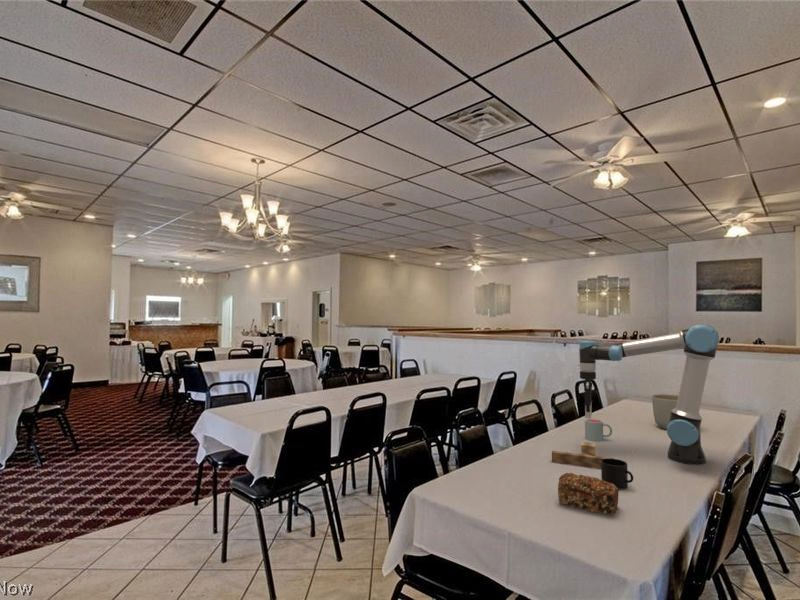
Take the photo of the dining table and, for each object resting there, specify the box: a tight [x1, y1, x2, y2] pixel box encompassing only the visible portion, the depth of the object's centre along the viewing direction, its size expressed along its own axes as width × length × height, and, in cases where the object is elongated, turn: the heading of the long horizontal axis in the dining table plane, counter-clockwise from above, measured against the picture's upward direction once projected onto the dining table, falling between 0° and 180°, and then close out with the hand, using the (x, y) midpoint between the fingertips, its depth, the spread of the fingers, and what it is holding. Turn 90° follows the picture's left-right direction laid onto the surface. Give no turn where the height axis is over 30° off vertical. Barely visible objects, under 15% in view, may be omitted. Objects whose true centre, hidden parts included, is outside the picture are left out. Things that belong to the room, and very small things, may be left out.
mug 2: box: [600, 457, 634, 490], centre depth 172 cm, size 9×12×9 cm
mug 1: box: [584, 418, 613, 443], centre depth 238 cm, size 14×9×10 cm
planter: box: [651, 393, 679, 431], centre depth 262 cm, size 21×21×19 cm
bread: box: [557, 472, 620, 517], centre depth 154 cm, size 19×11×10 cm, turn 54°
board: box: [551, 450, 615, 470], centre depth 196 cm, size 26×3×5 cm, turn 64°
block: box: [580, 441, 596, 456], centre depth 209 cm, size 6×6×6 cm
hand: (588, 416), depth 219 cm, fingers open, 7 cm apart
